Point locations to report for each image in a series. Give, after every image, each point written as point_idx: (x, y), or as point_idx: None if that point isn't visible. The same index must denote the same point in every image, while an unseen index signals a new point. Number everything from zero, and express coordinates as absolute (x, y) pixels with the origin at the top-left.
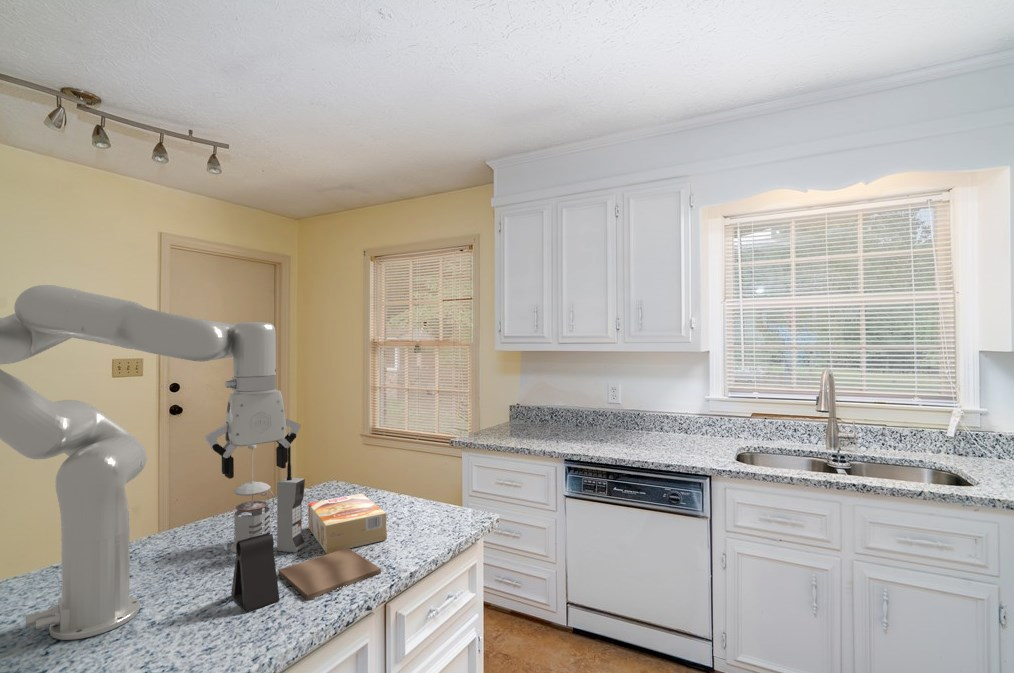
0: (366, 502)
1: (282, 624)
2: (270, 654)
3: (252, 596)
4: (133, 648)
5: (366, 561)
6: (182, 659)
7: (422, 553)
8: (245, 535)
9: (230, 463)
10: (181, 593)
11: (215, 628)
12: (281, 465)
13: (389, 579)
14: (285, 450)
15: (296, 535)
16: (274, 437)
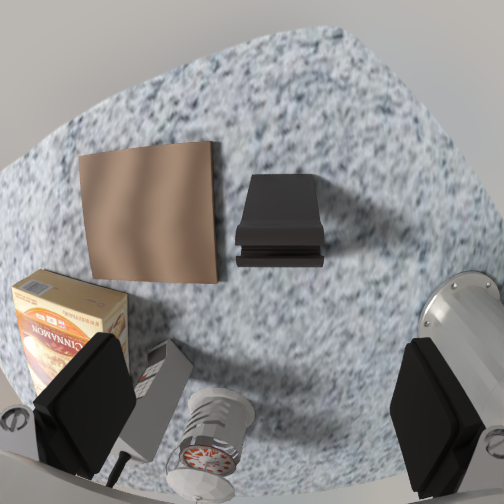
0: (32, 357)
1: (275, 93)
2: (318, 30)
3: (300, 183)
4: (456, 198)
5: (85, 200)
6: (418, 113)
7: (20, 182)
8: (232, 417)
9: (462, 392)
10: (365, 324)
11: (364, 162)
12: (113, 351)
13: (83, 125)
14: (40, 393)
15: (156, 363)
16: (27, 496)
